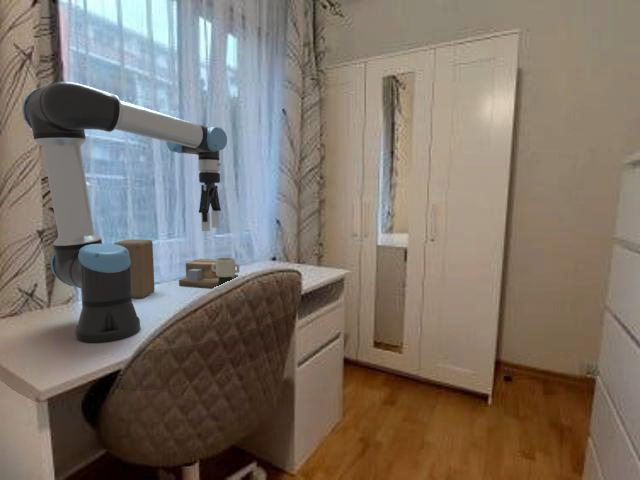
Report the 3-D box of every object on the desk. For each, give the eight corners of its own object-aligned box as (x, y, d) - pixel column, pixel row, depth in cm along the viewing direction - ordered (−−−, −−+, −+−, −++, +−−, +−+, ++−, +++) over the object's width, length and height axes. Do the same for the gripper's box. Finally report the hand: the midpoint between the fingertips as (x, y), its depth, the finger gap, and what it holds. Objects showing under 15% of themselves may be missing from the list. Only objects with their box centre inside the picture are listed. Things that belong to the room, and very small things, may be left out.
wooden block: (143, 298, 136) (140, 242, 134) (115, 298, 136) (112, 242, 134) (155, 291, 146) (153, 239, 144) (129, 291, 146) (127, 239, 144)
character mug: (243, 291, 148) (242, 257, 146) (236, 296, 141) (235, 261, 139) (216, 289, 150) (215, 256, 148) (208, 294, 143) (207, 259, 141)
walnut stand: (219, 289, 150) (218, 267, 149) (179, 285, 155) (178, 265, 154) (238, 280, 166) (237, 260, 165) (200, 277, 170) (200, 258, 169)
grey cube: (197, 280, 153) (197, 271, 152) (188, 280, 154) (188, 270, 153) (202, 278, 157) (202, 269, 156) (194, 278, 158) (193, 268, 157)
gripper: (210, 170, 130) (212, 232, 132) (227, 173, 155) (228, 226, 157) (188, 170, 130) (190, 232, 132) (208, 173, 154) (209, 226, 157)
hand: (210, 229), depth 145 cm, fingers open, 13 cm apart
